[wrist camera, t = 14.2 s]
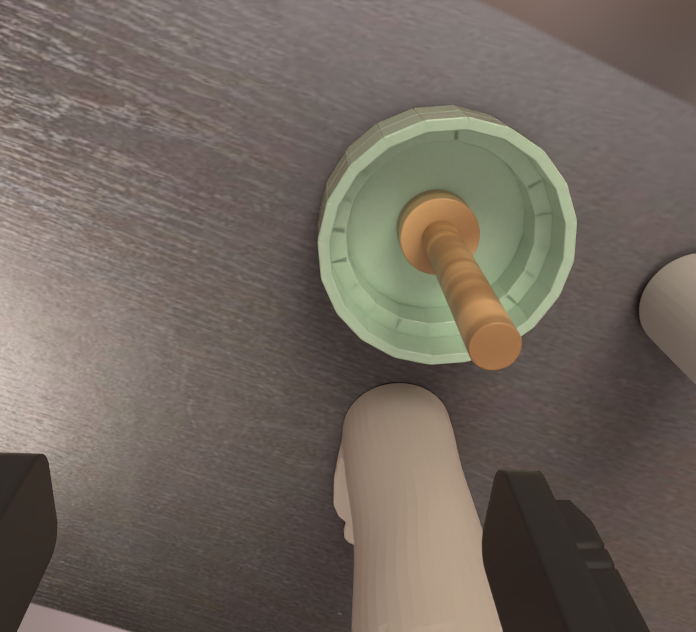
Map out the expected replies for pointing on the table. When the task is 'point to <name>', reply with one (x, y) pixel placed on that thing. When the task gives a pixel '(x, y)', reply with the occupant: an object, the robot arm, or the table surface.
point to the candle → (410, 518)
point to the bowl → (482, 198)
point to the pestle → (458, 274)
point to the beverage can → (673, 312)
